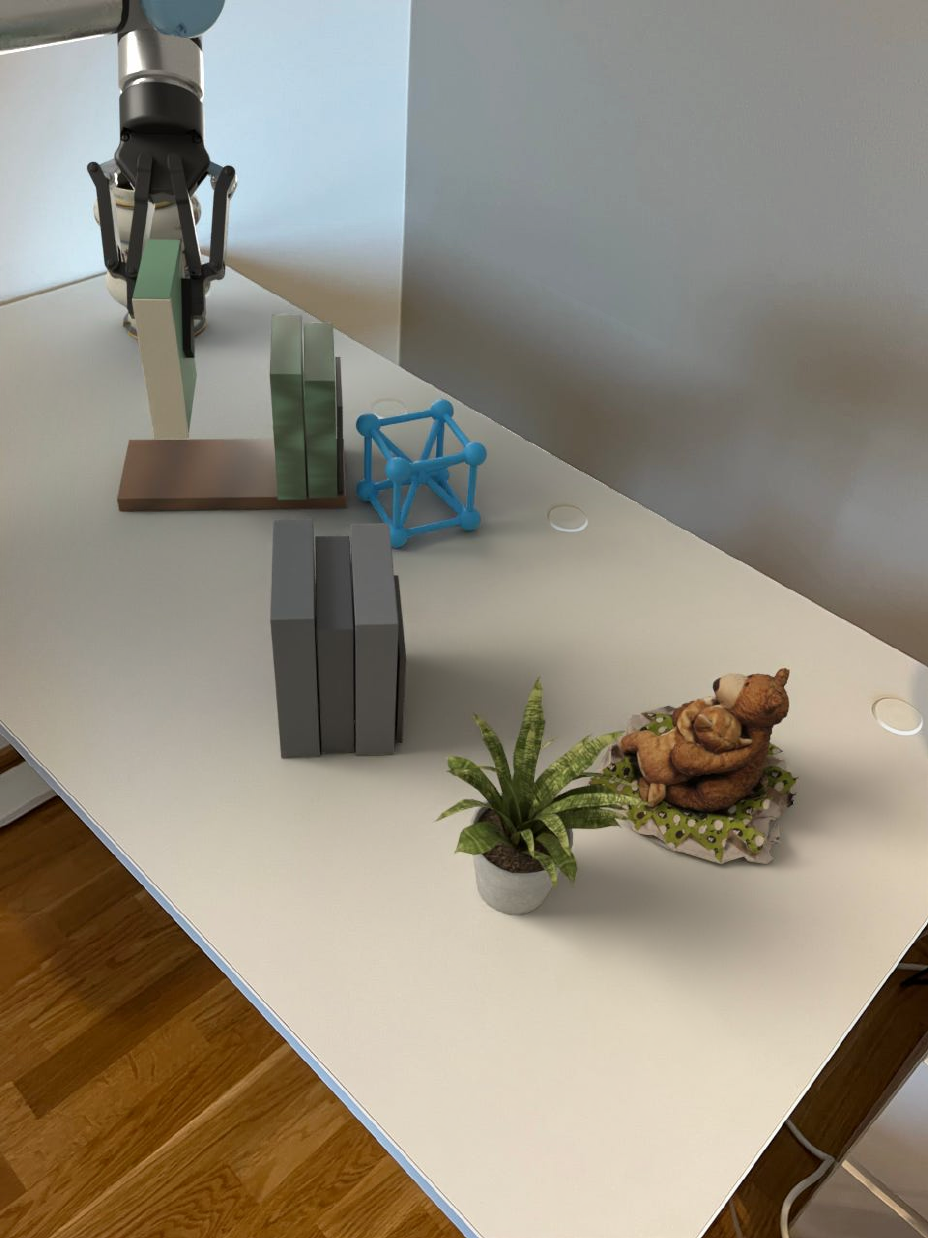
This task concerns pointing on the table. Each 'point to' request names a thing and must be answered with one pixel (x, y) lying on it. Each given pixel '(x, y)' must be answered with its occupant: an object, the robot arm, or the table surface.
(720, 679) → the bear figurine
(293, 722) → the grey books
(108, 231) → the robot arm
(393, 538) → the molecular structure
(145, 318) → the green book
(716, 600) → the table surface
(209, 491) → the book shelf
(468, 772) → the house plant
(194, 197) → the apothecary jar
